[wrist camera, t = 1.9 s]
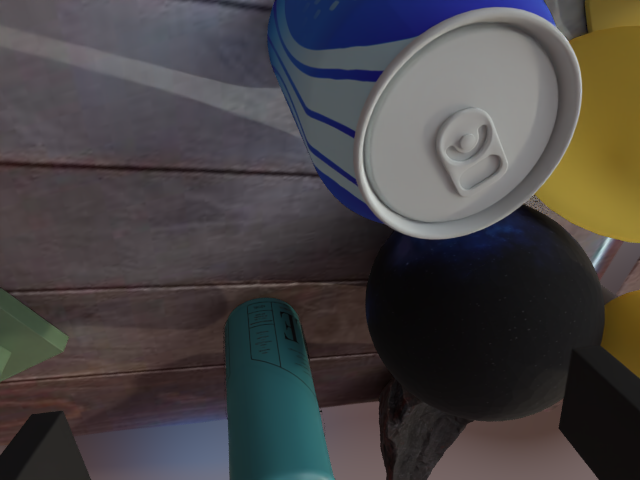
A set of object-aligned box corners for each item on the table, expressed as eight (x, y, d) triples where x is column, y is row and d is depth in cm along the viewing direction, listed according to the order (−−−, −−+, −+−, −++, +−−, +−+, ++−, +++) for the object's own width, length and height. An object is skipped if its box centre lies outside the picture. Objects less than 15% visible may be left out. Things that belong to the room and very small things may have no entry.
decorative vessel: (708, -6, 25) (614, 113, 37) (474, 69, 27) (456, 159, 39) (1019, 431, 17) (771, 403, 29) (652, 492, 19) (561, 442, 31)
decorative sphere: (377, 328, 40) (445, 493, 28) (313, 217, 31) (373, 391, 19) (523, 261, 38) (660, 404, 27) (501, 124, 29) (694, 248, 17)
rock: (501, 391, 41) (442, 383, 36) (411, 512, 46) (348, 519, 41) (453, 344, 47) (397, 331, 42) (378, 455, 52) (320, 456, 47)
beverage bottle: (208, 323, 35) (200, 633, 19) (249, 270, 33) (278, 577, 17) (272, 344, 38) (309, 625, 23) (313, 297, 36) (388, 577, 20)
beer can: (262, 105, 25) (307, 268, 13) (267, -62, 21) (346, -66, 8) (389, 111, 27) (537, 258, 15) (420, -41, 23) (680, -18, 10)
